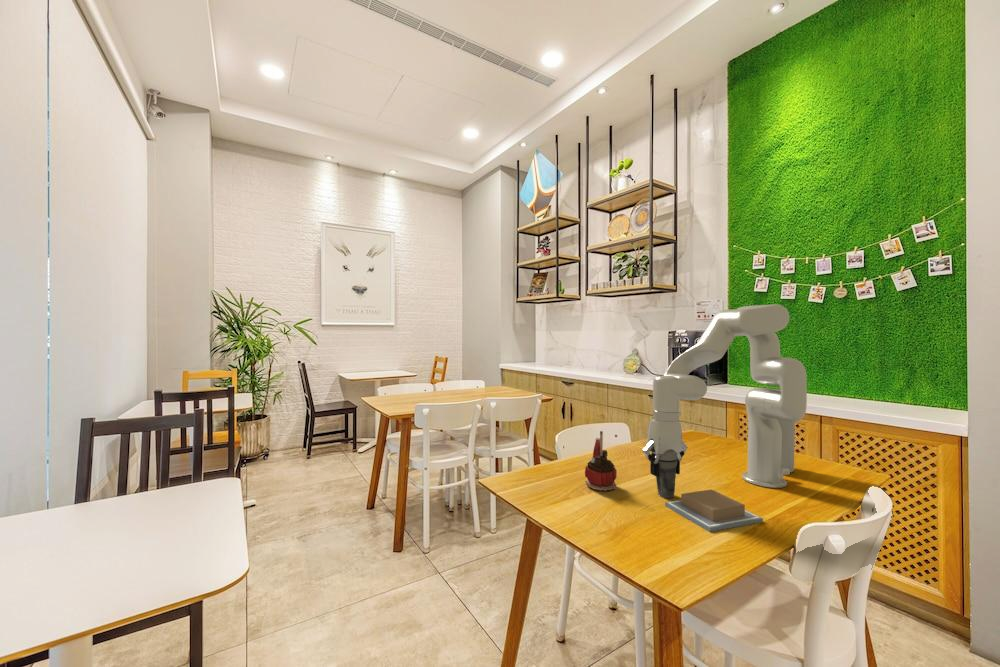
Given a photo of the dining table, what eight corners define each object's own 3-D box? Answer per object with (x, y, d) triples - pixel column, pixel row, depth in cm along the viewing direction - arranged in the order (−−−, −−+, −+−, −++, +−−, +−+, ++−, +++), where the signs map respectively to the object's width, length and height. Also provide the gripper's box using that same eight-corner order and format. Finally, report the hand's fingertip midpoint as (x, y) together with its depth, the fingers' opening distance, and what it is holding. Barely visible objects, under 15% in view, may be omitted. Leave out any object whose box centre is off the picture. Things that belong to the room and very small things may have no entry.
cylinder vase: (756, 470, 147) (757, 402, 147) (751, 461, 159) (752, 397, 158) (797, 476, 142) (798, 405, 142) (789, 465, 153) (790, 400, 153)
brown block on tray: (713, 498, 122) (713, 485, 122) (762, 522, 107) (763, 507, 107) (665, 505, 117) (665, 491, 117) (709, 531, 101) (709, 516, 101)
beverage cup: (683, 499, 120) (681, 433, 120) (658, 500, 120) (656, 434, 120) (673, 489, 128) (671, 427, 127) (650, 490, 128) (648, 427, 127)
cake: (611, 495, 124) (611, 436, 124) (581, 489, 128) (582, 432, 128) (619, 484, 133) (619, 429, 133) (591, 478, 138) (592, 426, 137)
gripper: (679, 412, 130) (679, 467, 130) (634, 415, 125) (633, 472, 125) (697, 417, 123) (697, 475, 123) (650, 420, 118) (649, 481, 118)
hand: (665, 473), depth 124 cm, fingers closed on beverage cup, 7 cm apart
